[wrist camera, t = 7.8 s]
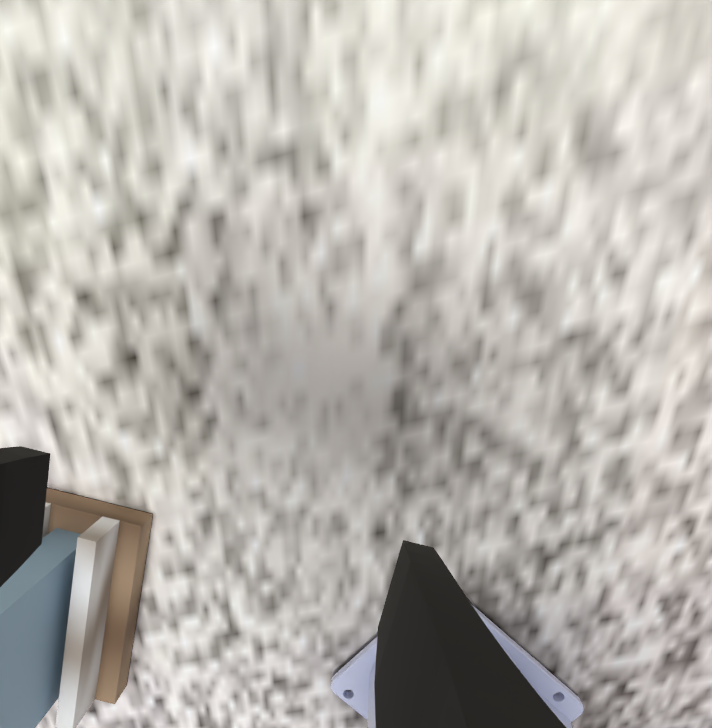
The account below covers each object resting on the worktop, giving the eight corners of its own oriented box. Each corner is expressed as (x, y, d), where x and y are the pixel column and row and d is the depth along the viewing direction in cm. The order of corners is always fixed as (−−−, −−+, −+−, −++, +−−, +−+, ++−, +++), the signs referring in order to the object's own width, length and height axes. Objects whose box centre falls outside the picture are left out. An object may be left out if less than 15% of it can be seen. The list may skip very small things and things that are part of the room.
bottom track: (30, 483, 20) (-21, 512, 18) (153, 514, 20) (119, 547, 18) (14, 657, 22) (-33, 705, 20) (126, 685, 22) (93, 738, 19)
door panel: (72, 679, 21) (-48, 834, 15) (41, 671, 21) (-92, 823, 15) (90, 536, 19) (-37, 646, 13) (56, 527, 19) (-86, 634, 14)
